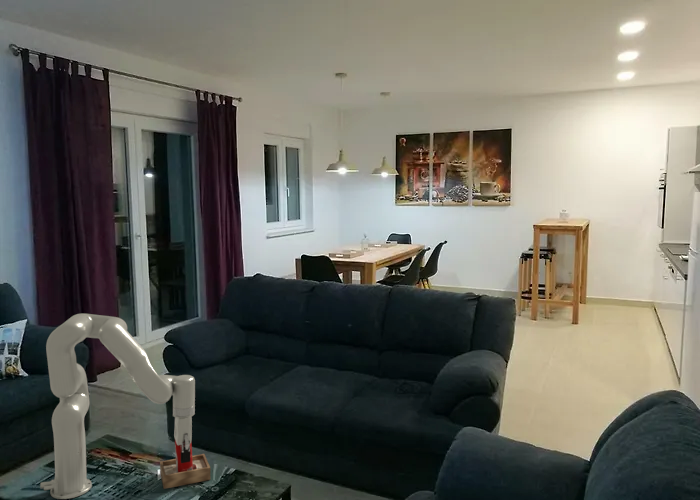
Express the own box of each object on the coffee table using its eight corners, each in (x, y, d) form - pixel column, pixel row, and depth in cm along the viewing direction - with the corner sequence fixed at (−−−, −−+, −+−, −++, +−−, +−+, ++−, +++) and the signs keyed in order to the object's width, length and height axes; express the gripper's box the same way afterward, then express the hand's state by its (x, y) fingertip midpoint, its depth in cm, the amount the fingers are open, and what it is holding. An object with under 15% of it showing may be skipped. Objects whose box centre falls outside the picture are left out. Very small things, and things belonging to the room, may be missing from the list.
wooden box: (163, 488, 187) (163, 476, 187) (160, 473, 198) (159, 461, 198) (210, 479, 194) (210, 467, 194) (204, 465, 205) (204, 453, 204)
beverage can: (195, 472, 199) (195, 432, 198) (188, 481, 193) (188, 440, 191) (180, 471, 200) (179, 432, 198) (172, 480, 193) (172, 439, 192)
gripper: (170, 403, 200) (169, 448, 201) (176, 420, 185) (175, 468, 186) (190, 401, 203) (190, 445, 205) (198, 417, 188) (198, 464, 189)
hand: (183, 456), depth 195 cm, fingers open, 9 cm apart
